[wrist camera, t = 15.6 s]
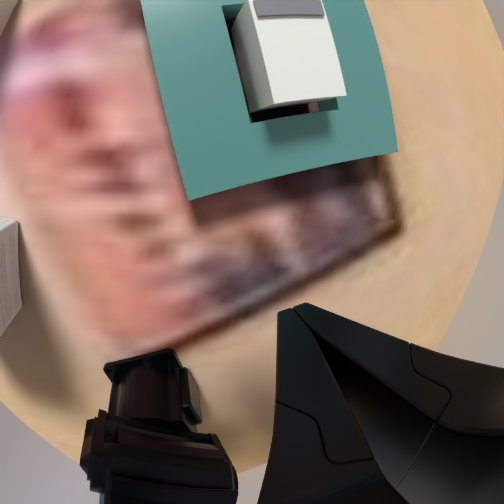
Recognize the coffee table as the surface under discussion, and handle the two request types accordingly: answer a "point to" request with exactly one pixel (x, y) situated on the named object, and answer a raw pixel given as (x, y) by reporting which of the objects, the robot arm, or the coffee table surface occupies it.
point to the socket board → (234, 106)
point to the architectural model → (6, 12)
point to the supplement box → (9, 273)
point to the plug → (286, 53)
